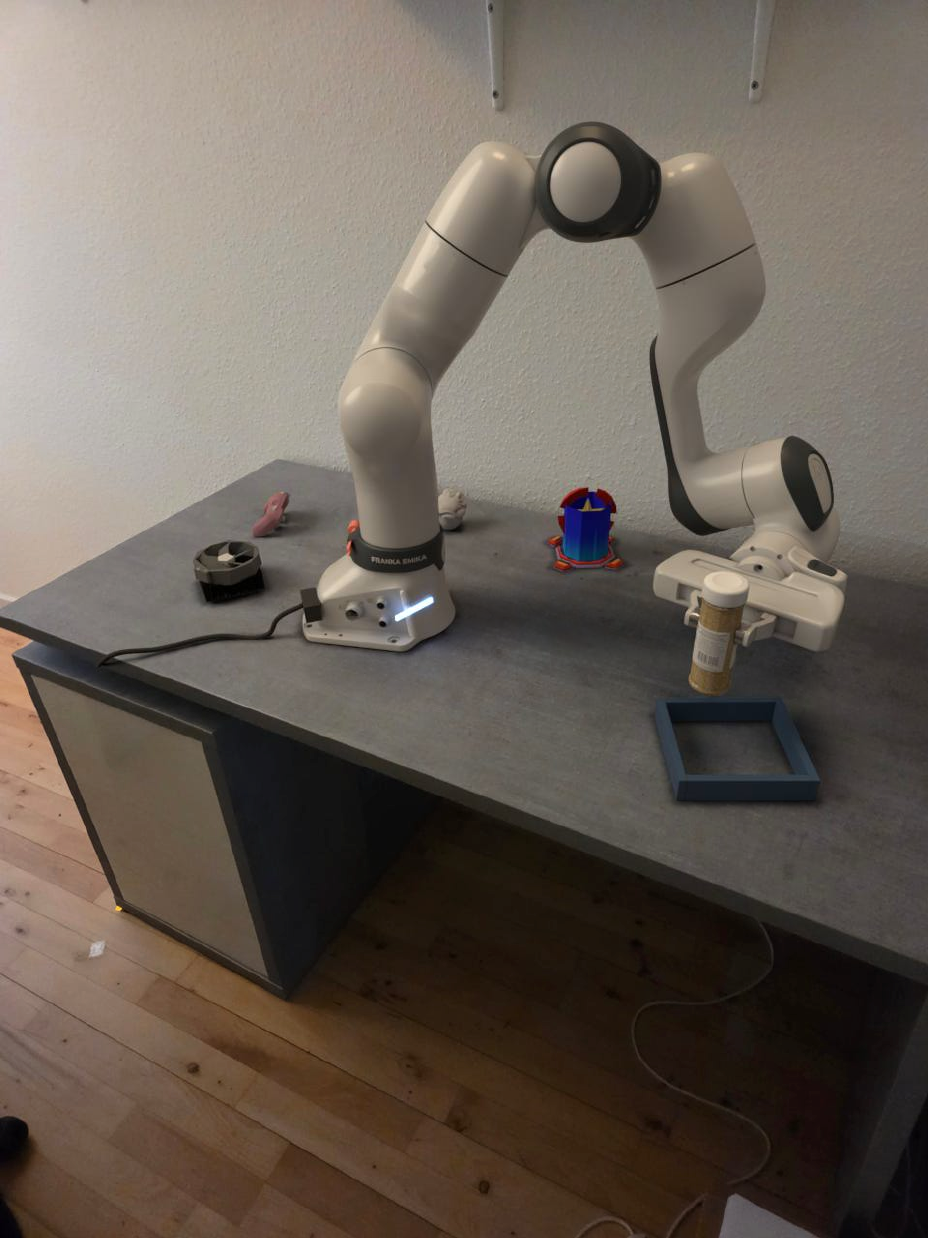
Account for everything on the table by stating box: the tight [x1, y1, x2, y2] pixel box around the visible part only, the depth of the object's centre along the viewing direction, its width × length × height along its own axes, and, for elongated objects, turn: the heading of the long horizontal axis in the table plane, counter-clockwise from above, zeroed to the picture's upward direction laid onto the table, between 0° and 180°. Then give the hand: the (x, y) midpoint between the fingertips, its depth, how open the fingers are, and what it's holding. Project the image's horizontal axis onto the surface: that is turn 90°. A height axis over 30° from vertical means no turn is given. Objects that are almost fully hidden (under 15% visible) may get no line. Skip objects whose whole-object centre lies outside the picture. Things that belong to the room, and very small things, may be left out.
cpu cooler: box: [192, 539, 266, 604], centre depth 125 cm, size 10×6×10 cm
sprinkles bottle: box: [688, 571, 750, 696], centre depth 84 cm, size 5×5×14 cm
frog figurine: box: [438, 488, 468, 531], centre depth 139 cm, size 6×7×7 cm
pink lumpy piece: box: [251, 490, 291, 537], centre depth 142 cm, size 10×5×7 cm, turn 179°
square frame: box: [654, 696, 821, 801], centre depth 90 cm, size 15×14×3 cm
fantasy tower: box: [546, 486, 626, 574], centre depth 128 cm, size 12×12×12 cm
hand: (715, 630), depth 83 cm, fingers closed on sprinkles bottle, 4 cm apart
